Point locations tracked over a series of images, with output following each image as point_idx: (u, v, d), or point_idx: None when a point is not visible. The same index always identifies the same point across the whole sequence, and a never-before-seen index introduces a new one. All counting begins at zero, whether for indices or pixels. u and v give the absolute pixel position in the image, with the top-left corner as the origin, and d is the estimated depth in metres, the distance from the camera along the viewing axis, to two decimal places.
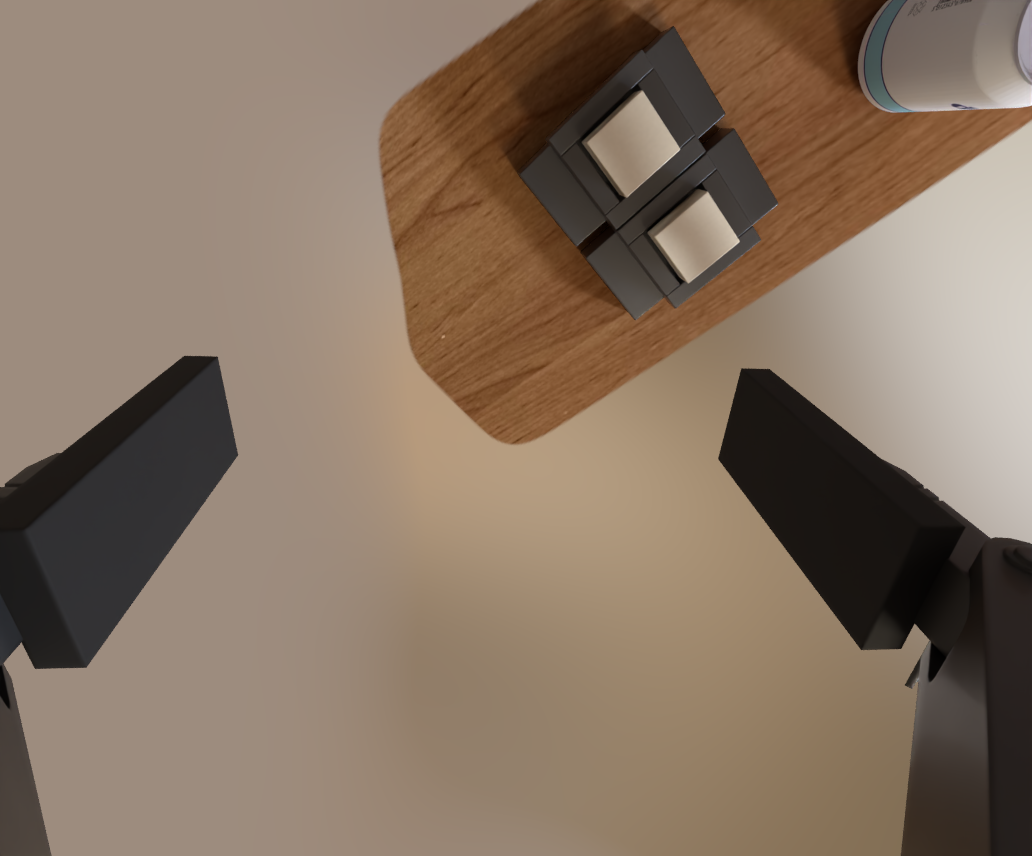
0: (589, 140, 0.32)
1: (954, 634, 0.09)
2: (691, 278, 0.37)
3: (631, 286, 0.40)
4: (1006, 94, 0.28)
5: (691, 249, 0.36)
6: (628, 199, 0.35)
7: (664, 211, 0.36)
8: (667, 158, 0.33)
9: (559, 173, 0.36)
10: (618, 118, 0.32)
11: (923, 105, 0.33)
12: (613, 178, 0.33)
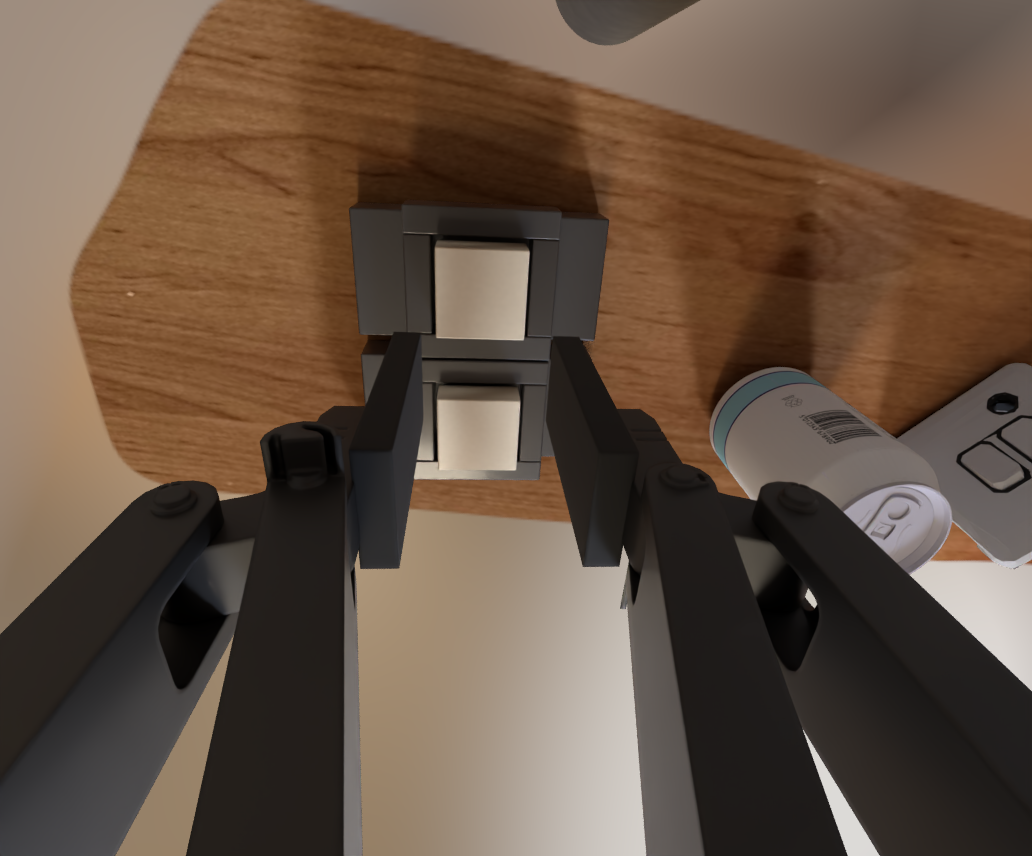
0: (439, 247, 0.23)
1: (642, 555, 0.10)
2: (444, 467, 0.28)
3: None
4: None
5: (465, 440, 0.28)
6: (442, 339, 0.27)
7: (469, 380, 0.28)
8: (505, 337, 0.25)
9: (395, 247, 0.26)
10: (485, 254, 0.24)
11: (740, 481, 0.30)
12: (436, 307, 0.25)
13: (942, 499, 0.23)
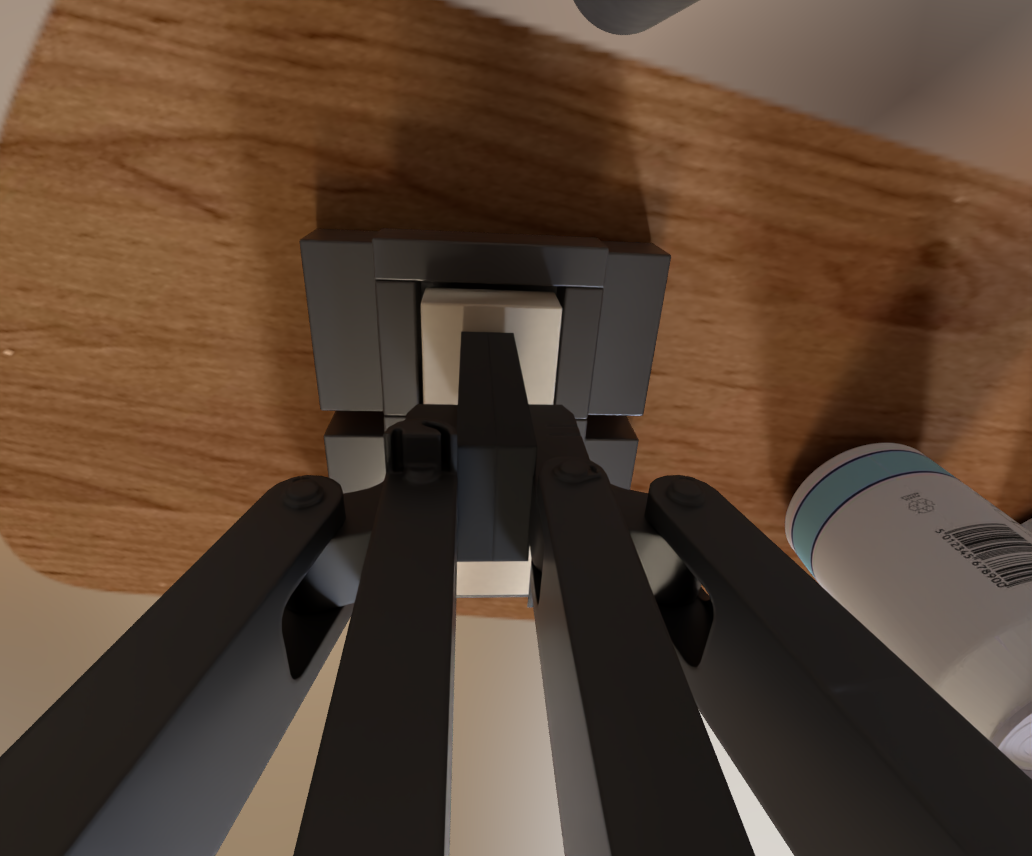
0: (428, 303, 0.16)
1: (543, 553, 0.10)
2: None
3: None
4: None
5: None
6: None
7: None
8: None
9: (367, 294, 0.18)
10: (496, 313, 0.16)
11: None
12: (424, 387, 0.17)
13: None
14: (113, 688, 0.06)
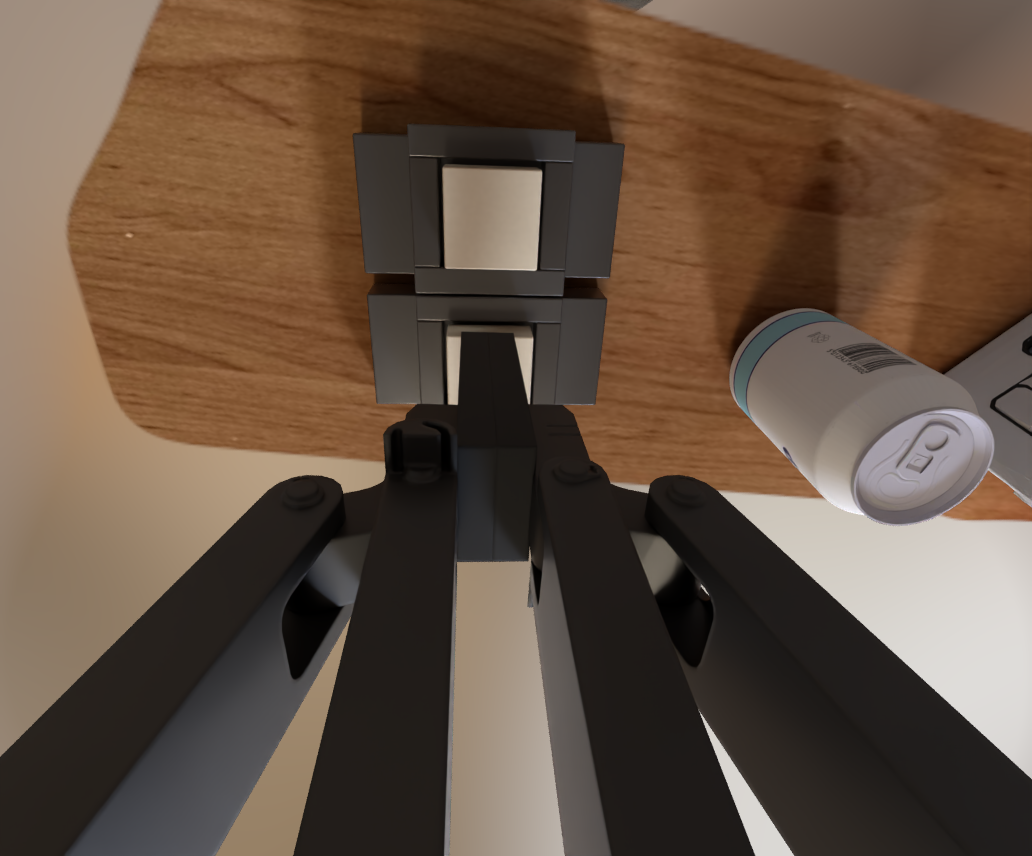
0: (447, 167, 0.22)
1: (543, 553, 0.10)
2: None
3: (396, 365, 0.29)
4: (828, 482, 0.24)
5: None
6: (451, 273, 0.26)
7: (480, 319, 0.27)
8: (517, 267, 0.24)
9: (401, 177, 0.25)
10: (496, 175, 0.23)
11: (763, 425, 0.29)
12: (445, 234, 0.23)
13: (984, 426, 0.22)
14: (113, 688, 0.06)
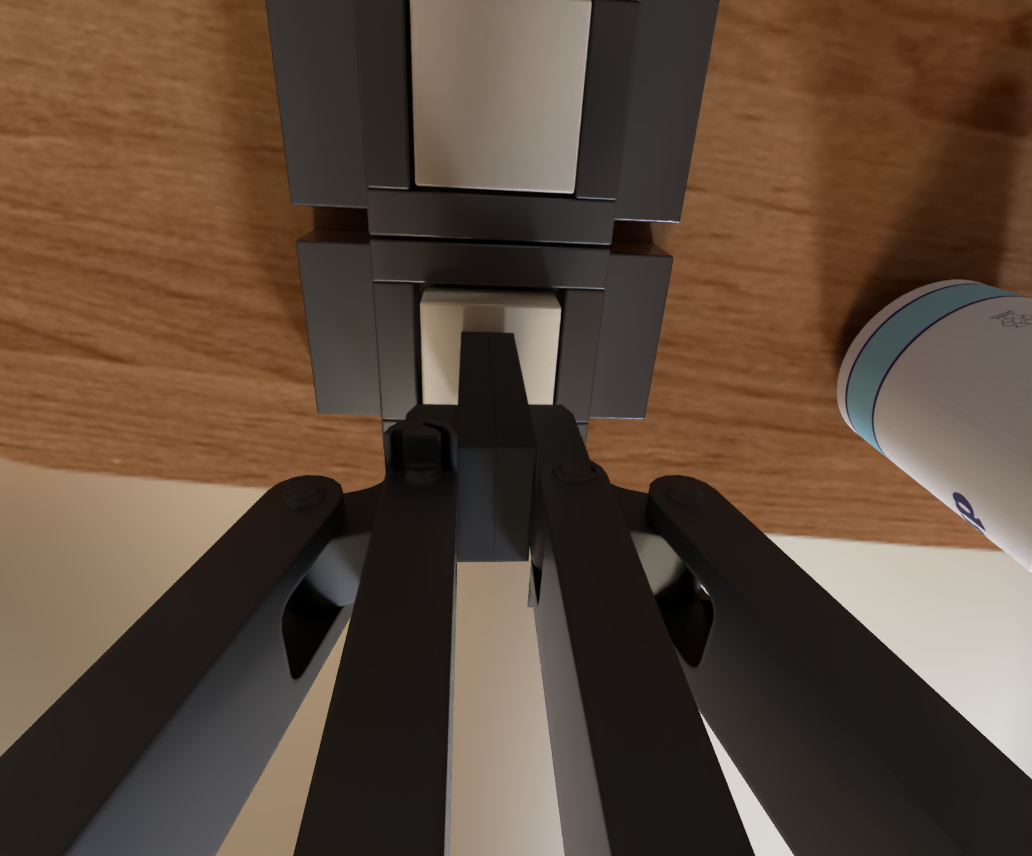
0: None
1: (543, 553, 0.10)
2: None
3: (346, 356, 0.19)
4: None
5: None
6: (428, 200, 0.15)
7: (475, 280, 0.16)
8: (540, 186, 0.14)
9: (346, 36, 0.15)
10: (507, 5, 0.12)
11: (908, 455, 0.19)
12: (415, 121, 0.13)
13: None
14: (113, 688, 0.06)
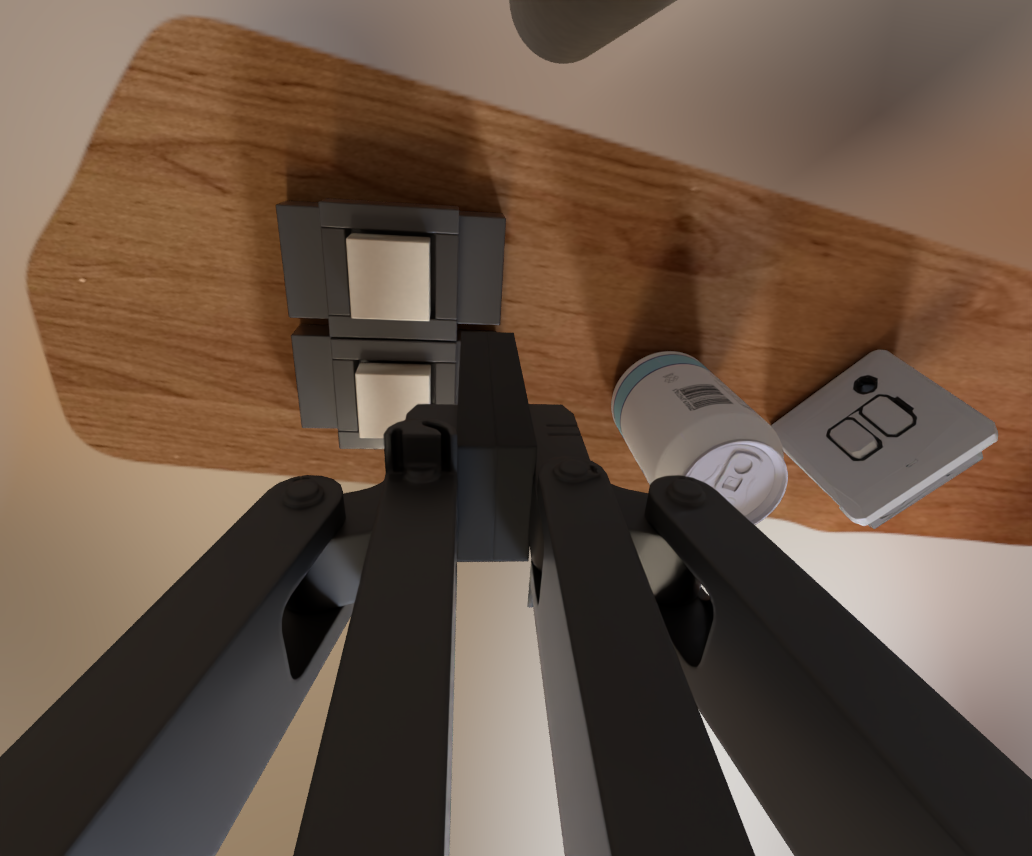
0: (350, 239, 0.27)
1: (543, 553, 0.10)
2: (365, 435, 0.32)
3: (318, 395, 0.34)
4: None
5: (382, 411, 0.31)
6: (359, 320, 0.30)
7: (386, 358, 0.32)
8: (412, 318, 0.29)
9: (318, 240, 0.30)
10: (390, 245, 0.28)
11: (631, 450, 0.34)
12: (350, 291, 0.28)
13: (777, 454, 0.27)
14: (113, 688, 0.06)
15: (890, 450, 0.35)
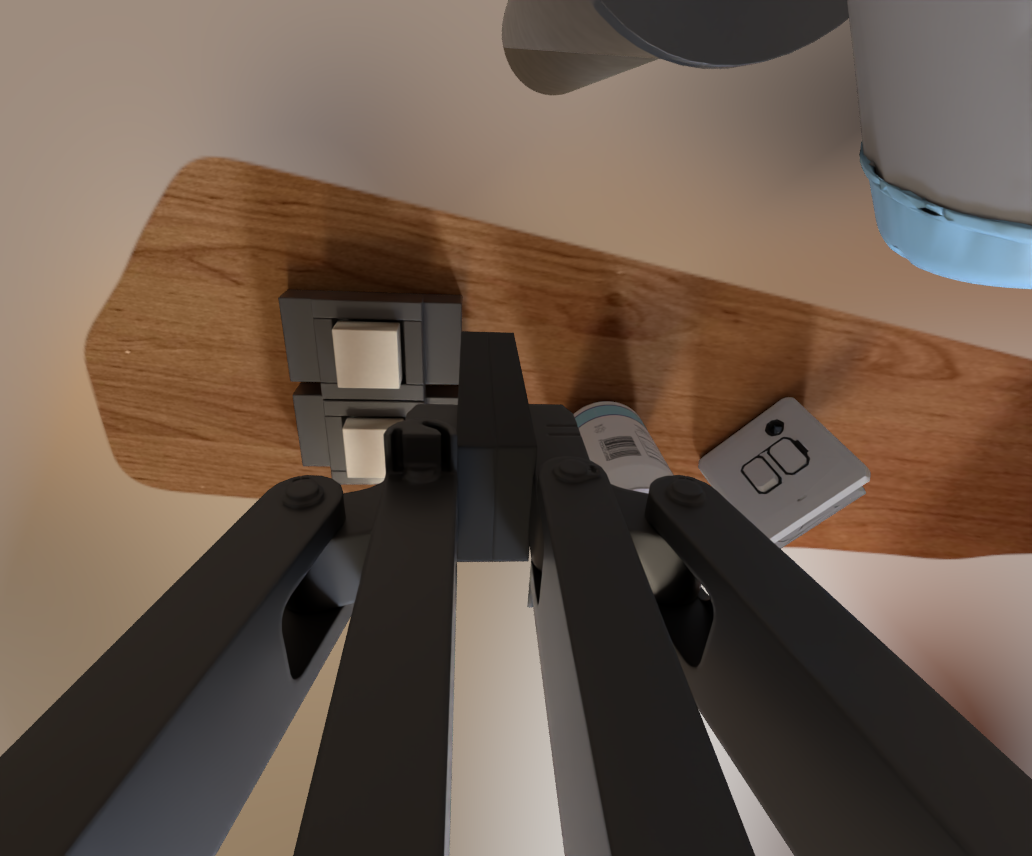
0: (335, 329, 0.35)
1: (543, 553, 0.10)
2: (352, 476, 0.40)
3: (315, 440, 0.42)
4: None
5: (364, 457, 0.39)
6: None
7: (367, 414, 0.39)
8: (386, 386, 0.37)
9: (312, 323, 0.38)
10: (366, 333, 0.35)
11: None
12: (336, 367, 0.36)
13: None
14: (113, 688, 0.06)
15: (787, 486, 0.41)
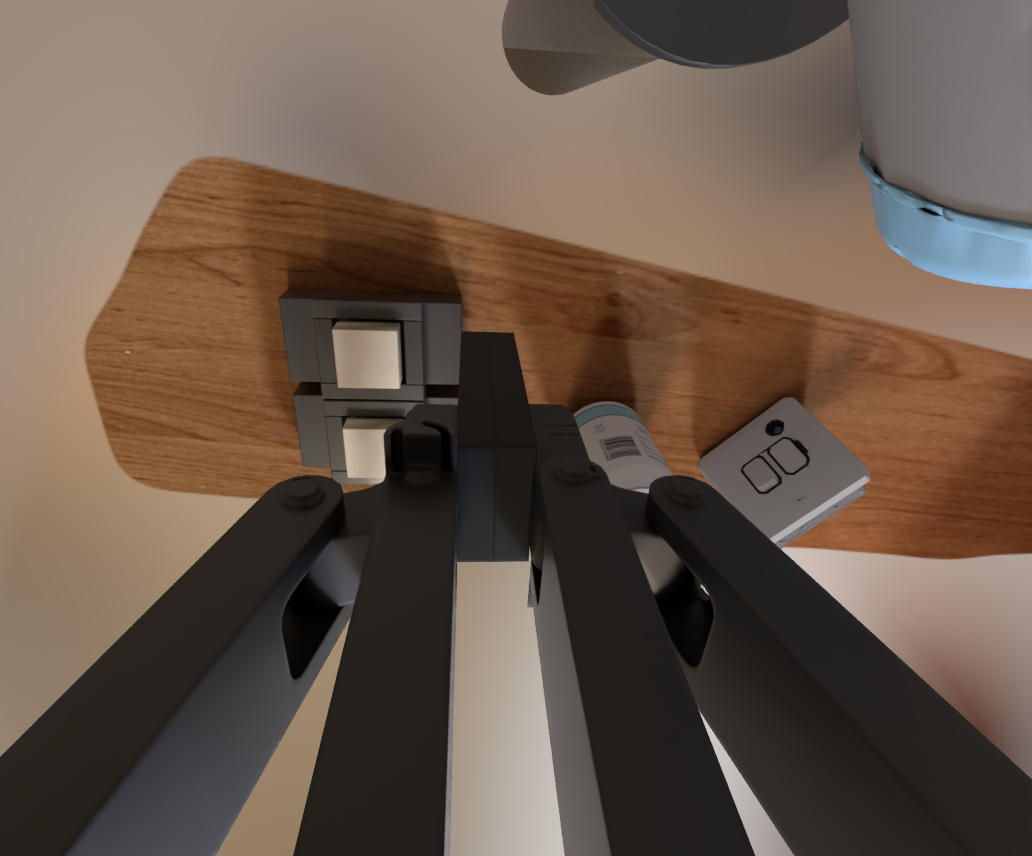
0: (335, 329, 0.35)
1: (543, 553, 0.10)
2: (352, 476, 0.40)
3: (315, 440, 0.42)
4: None
5: (364, 457, 0.39)
6: None
7: (368, 414, 0.39)
8: (386, 386, 0.37)
9: (312, 323, 0.38)
10: (366, 333, 0.35)
11: None
12: (336, 367, 0.36)
13: None
14: (113, 688, 0.06)
15: (787, 486, 0.41)
